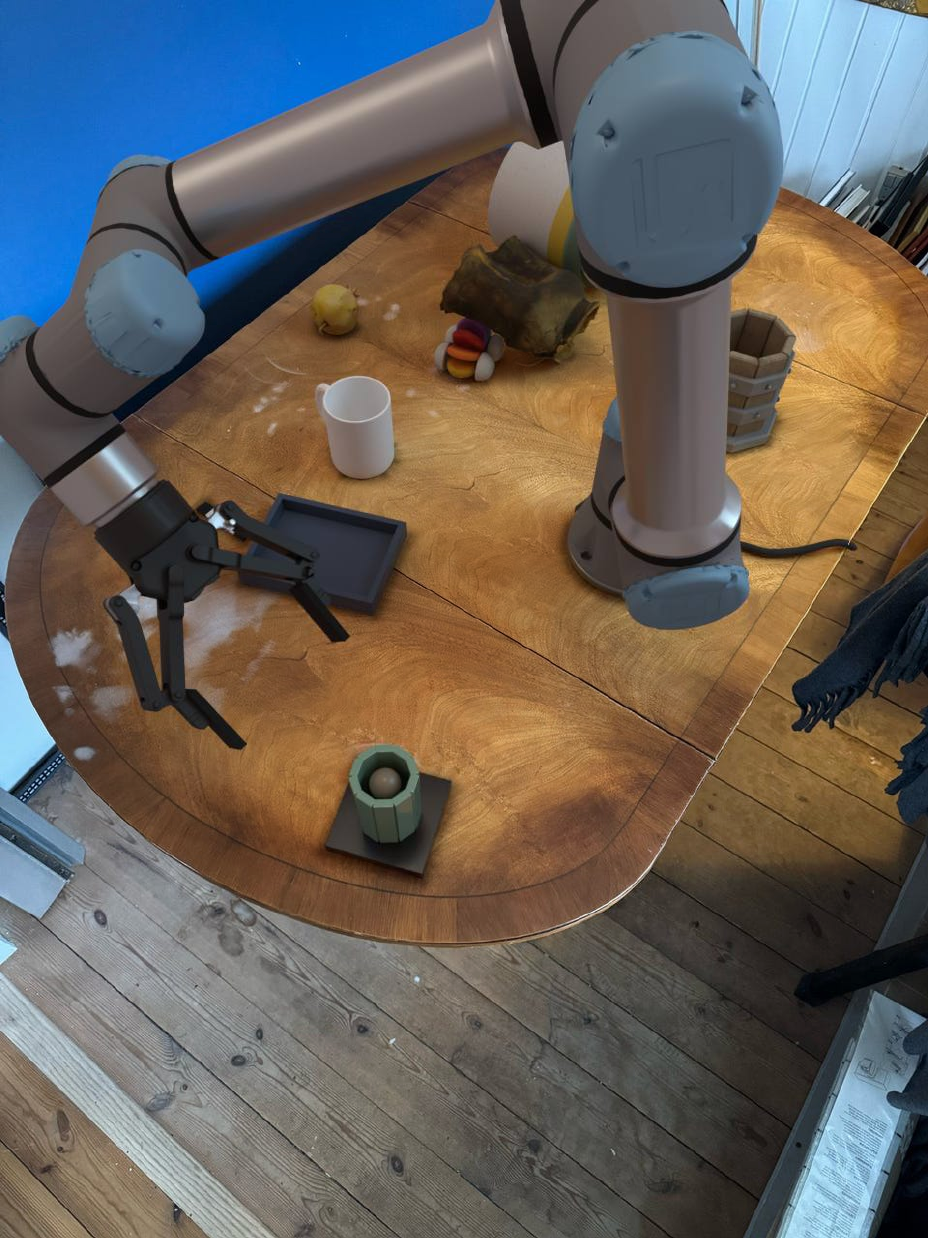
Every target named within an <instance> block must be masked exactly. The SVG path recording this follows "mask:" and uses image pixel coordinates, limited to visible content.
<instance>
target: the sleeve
mask: <svg viewBox="0 0 928 1238" xmlns="http://www.w3.org/2000/svg"><path fill="white" fill-rule="evenodd" d="M380 768H391V769H393V770H395V771H396V772H397V773H398V775H399V776H400V779H401V789H400V792H401V793H400V794H398V795H397V796H395V797H394V798H393V799H377V800H375V799H374V798H372V797H373V794H372V793H371V791H370V789H369V780H370V777H371V775H372V774H373V773H374V772H375V771H376V770H378V769H380ZM419 772H420V771H419V769H418V766H417V763H416V760H415V758H414V756H412V753H410V752H409V751H407V750H405V749H403V748H402V747H400V746H399V745H398V744H396V745H395V744H393V743H390V744H386V743H385V744H374V745H371V746H369V747H368V748H367V749H365V750H363V751H362V752H360V753H359V754H358V755H357V756H356V757H355V758H354V760H353V761H352V765H351V767H350V770H349V772H348V783H350V787H351V791H352V795H353V800H354V804H355V808H356V813H357V816H358V820H359V823H360V826H361V829H362V830H363V832H364V833H365V834H366V835H368V836H369V837H371V838H372V839H374V840H375V841H377V842H378V841H379V840H380V843H388V842H398V839H399V840H400V841H402V840H403V839H404V838H406V837H407V836H409V835H410V834H411V833H413V832H414V831H415V829H417V826H418V823H419V820H420V817H421V814H422V806H421V792H420V778H419Z"/></svg>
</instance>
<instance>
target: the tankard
mask: <svg viewBox="0 0 928 1238" xmlns="http://www.w3.org/2000/svg"><path fill="white" fill-rule="evenodd" d="M796 342H797V335H796V334H794V332H793V331H792V330H791V329H790V327H789V326H788V325H787V324H786V323H785V322H784V320H783V319H782V318H781V317H779V316H778V315H775V314H772V313H768V312H765V311H761V310H758V309H754V308H750V307H748V308H747V307H743V308H740V309H739V308H738V309H736V310H731V321H730V351H729V380H728V410H727V439H726V453H730V454H732V453H735V452H740V451H743V450H747V449H750V448H754V447H757V446H758V447H759V446H762V445H766V444H767V441H768V439H769V436H770V433H771V431H772V428H773V426H774V423H775V420H776V418H777V415H778V413H779V411H778V409H777V408H776V405H777V403H779V402H780V401H781V397H780V394H781V392H782V389H783V387H784V384H785V381H786V379H787V377H788V375H790V374H791V373H792V371H793V369H792V368H791V367H792V364H793V361H794V358H795V356H796V352H795V351H794V347H795V344H796Z"/></svg>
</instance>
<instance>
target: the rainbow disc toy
mask: <svg viewBox="0 0 928 1238" xmlns="http://www.w3.org/2000/svg"><path fill="white" fill-rule="evenodd" d="M504 350H505V341H504V339H502V337H501V336H500V335H499V334H497V333H496V332H494V333H493V334H492V330H491V329H489V328H487V327H486V326H484V325H483V324H481V323H479V322H477V321H475V320H471V319H468V318H465V317H463V318H462V319H460V320H459V321H458V323H457V324H454V325H452V326H450V327H449V328H448V329H447V330H446V333H445V335H444V342H442V343H440V344H438V346H436V349H435V351H434V355H433V360H434V363H435V365H436V367H437V368H438V369H440V370H441V371H443V372H445V371H448V372H449V374H450V375H451V376H453V377H454V378H458V379H465V378H469V377H471V376H473V375H474V380H475V381H477V382H484V381H486V380H488V379H490V378H491V376H492V375H493V373H494V369H495V362H497V361H498V360H500V359H501V358H502V357H503V354H504Z"/></svg>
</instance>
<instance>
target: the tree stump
mask: <svg viewBox="0 0 928 1238" xmlns="http://www.w3.org/2000/svg"><path fill="white" fill-rule="evenodd" d="M441 296H442V297H441V298H442V299H441V301H440V303H439V310H440V311H442V312H444V314H445V315H446V314H452V313H454V314H456V315H458V316H460V317H463V318H468V319H471V320H475V321H477V322H479V323H481V324H483V325H484V326H486V327H487V328H489V329H491V332H494V333H495V334H497V335H499V336H500V337H501V338H502V340H503V342H504V345H506V346H507V347H508V348H511V349H513V350H516V351H519V352H524V353H530V354H531V355H532V356H533V357H534V358H537V359H551V360H553V361H554V362H555V363H556V364H557V365H561V364H562V363H563V362H564V361H566V360H567V359H568V358H569V357H571V355H572V354H573V347H574V345H575V343H574V338H576V336H578V335H579V334H583V333H585V331H586V330H587V328H588V326H589V324H590V322H591V321H595V318H596V316H597V315H598V313H599V309H600V307H601V306H600V305H601V302H600V301H589V300H588V299H587V294H586V291H585V287H584V286H582V284H581V282H580V280H579V279H578V277H577V276H576V274H575V273H574V272H572V271H570V270H565V269H559V268H557V267H555V266H553V265H551V264H550V263H548V262H547V261H545V260H544V259H542V258H541V257H539V256H537V255H536V254H534V253H533V252H532V251H530V250H529V249H528V248H527V247H525V246H524V245H523V244H522V243H521V242H520V239H518V238H517V236H515V235H513V236H511V237H509V238H508V237H507V238H506V240H504V241H503V243H501V244H500V246H499V247H497V249H496V250H492V251H485V248H484V247H483V245H482V244H480V243H479V244H476V245H475V246H472V247H468V248H467V249H466V251H465V252H464V253H463V255H462V256H461V261H460V265H459V267H458V268H457V269H455V270H453V275H452V277H451V278H450V280H448V281H447V283H446V284H445V286H444V288H443V290H442V292H441Z"/></svg>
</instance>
